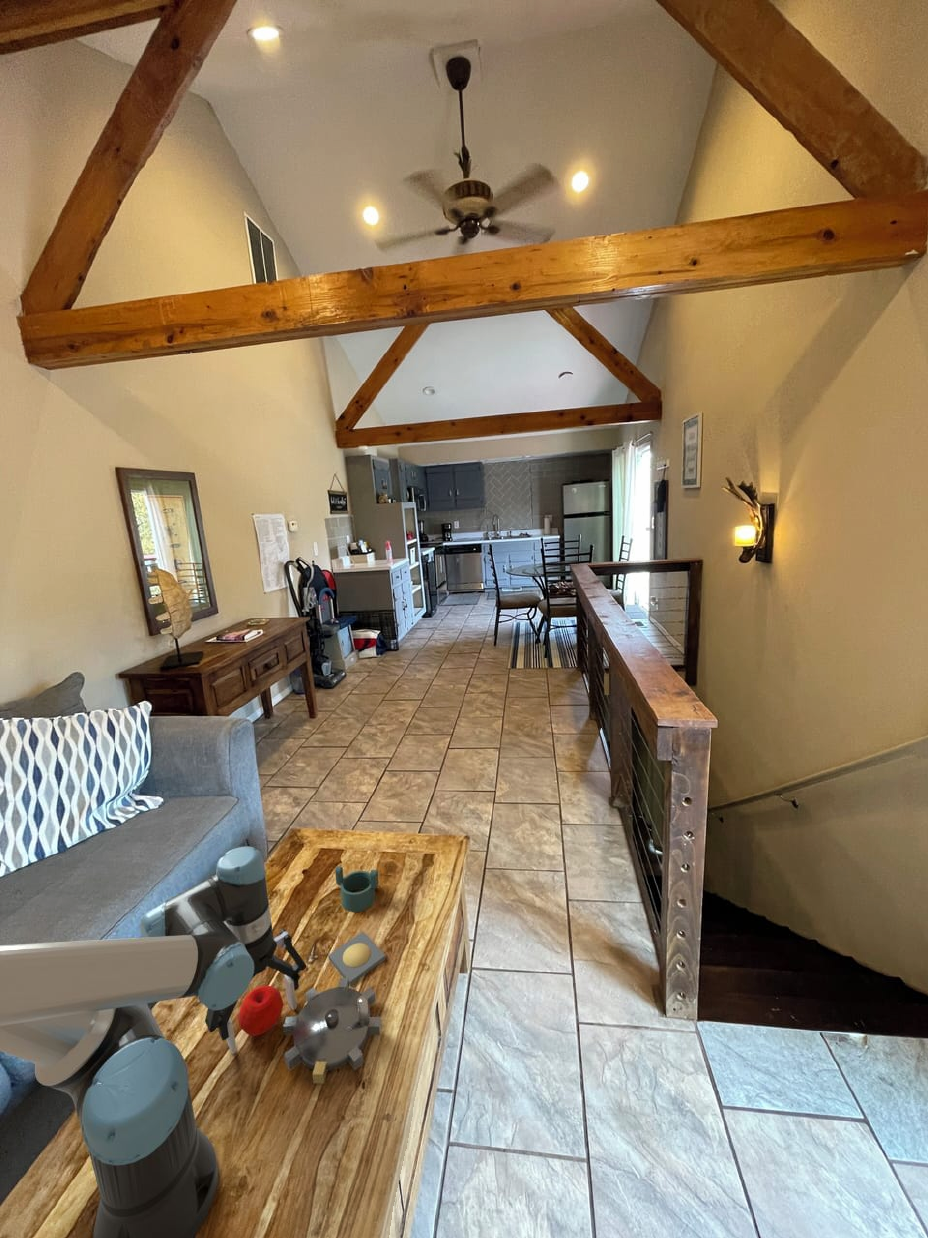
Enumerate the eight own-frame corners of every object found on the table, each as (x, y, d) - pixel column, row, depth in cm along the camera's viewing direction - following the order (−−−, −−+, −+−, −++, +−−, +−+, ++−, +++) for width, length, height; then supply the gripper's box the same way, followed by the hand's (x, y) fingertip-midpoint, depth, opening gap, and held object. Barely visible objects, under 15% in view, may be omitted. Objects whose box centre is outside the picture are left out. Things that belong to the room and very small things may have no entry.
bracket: (381, 903, 127) (379, 872, 125) (345, 918, 122) (343, 886, 121) (369, 881, 135) (367, 851, 133) (335, 895, 130) (332, 864, 128)
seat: (350, 985, 105) (349, 981, 105) (328, 959, 111) (328, 954, 111) (385, 959, 111) (385, 955, 111) (363, 935, 117) (363, 931, 117)
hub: (327, 1058, 91) (325, 1038, 90) (311, 1034, 96) (309, 1015, 95) (355, 1034, 95) (354, 1015, 94) (339, 1012, 100) (337, 994, 99)
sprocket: (371, 1083, 86) (368, 1051, 85) (266, 1083, 87) (262, 1051, 85) (388, 986, 104) (386, 957, 102) (301, 986, 104) (298, 958, 103)
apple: (259, 1056, 92) (254, 1024, 90) (231, 1035, 96) (226, 1003, 94) (293, 1018, 99) (289, 987, 97) (266, 999, 103) (262, 969, 101)
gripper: (186, 985, 82) (204, 1089, 87) (318, 905, 98) (327, 997, 102) (173, 956, 87) (191, 1055, 92) (300, 885, 103) (310, 973, 108)
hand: (263, 1025), depth 97 cm, fingers open, 11 cm apart
